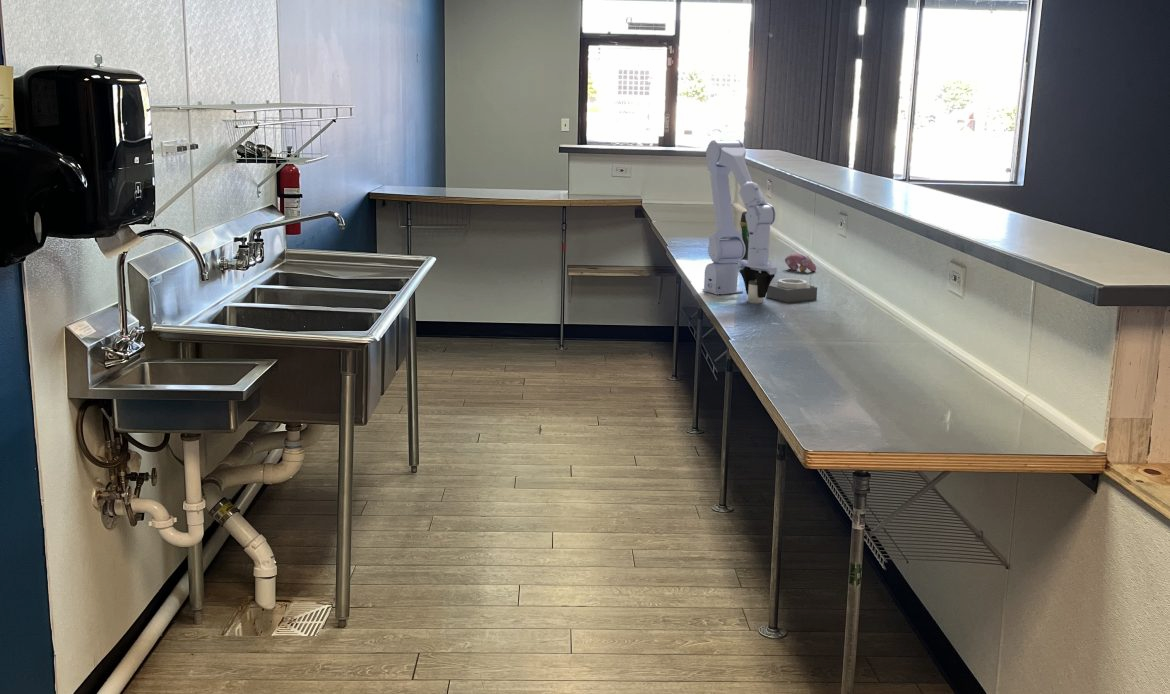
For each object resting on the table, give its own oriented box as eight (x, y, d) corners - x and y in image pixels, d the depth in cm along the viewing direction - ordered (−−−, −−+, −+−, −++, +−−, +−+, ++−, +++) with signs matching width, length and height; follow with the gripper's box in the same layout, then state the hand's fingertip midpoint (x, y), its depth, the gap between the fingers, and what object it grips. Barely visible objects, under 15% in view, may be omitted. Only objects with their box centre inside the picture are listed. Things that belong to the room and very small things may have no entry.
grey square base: (786, 302, 292) (787, 285, 291) (766, 296, 300) (767, 279, 298) (816, 299, 297) (817, 282, 296) (796, 293, 305) (797, 277, 304)
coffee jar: (765, 263, 358) (769, 210, 354) (766, 267, 350) (770, 212, 346) (737, 262, 359) (740, 209, 355) (738, 266, 351) (741, 212, 347)
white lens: (754, 303, 289) (755, 282, 288) (744, 301, 293) (745, 280, 292) (766, 302, 291) (767, 281, 290) (756, 299, 295) (758, 279, 294)
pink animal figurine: (785, 273, 348) (781, 256, 345) (793, 266, 351) (789, 249, 347) (810, 277, 342) (806, 259, 338) (818, 270, 344) (814, 252, 340)
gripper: (786, 250, 284) (783, 299, 288) (753, 243, 297) (751, 290, 300) (766, 252, 281) (763, 301, 284) (734, 245, 293) (731, 292, 297)
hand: (755, 295), depth 292 cm, fingers open, 5 cm apart
